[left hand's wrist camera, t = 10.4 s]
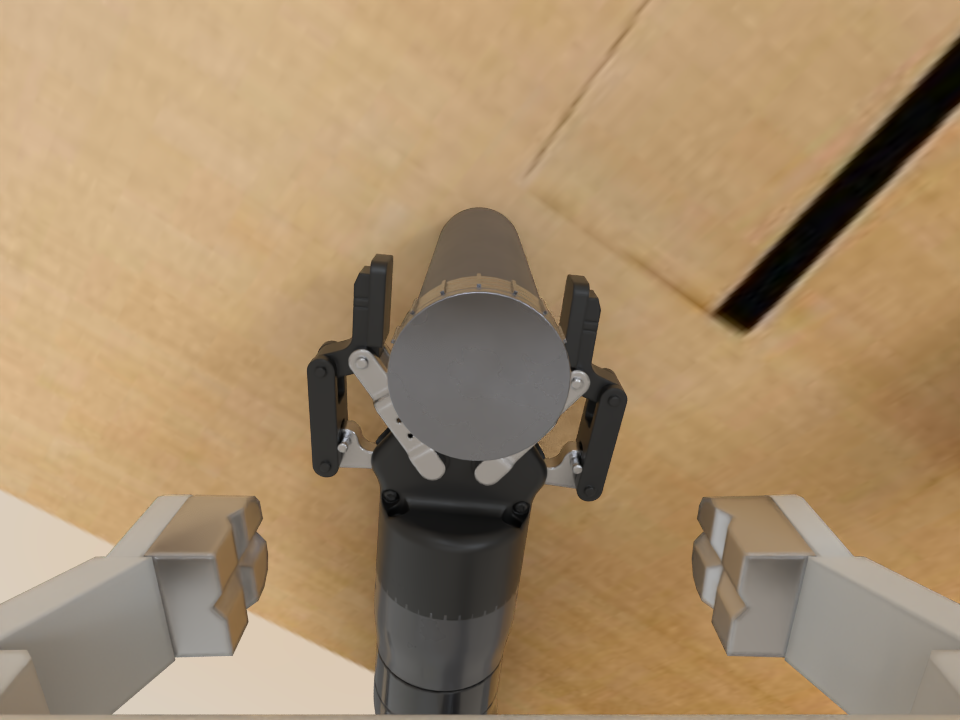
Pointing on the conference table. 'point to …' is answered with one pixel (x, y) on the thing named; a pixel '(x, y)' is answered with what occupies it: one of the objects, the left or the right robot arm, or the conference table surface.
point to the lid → (478, 369)
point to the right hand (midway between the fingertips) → (480, 268)
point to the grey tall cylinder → (479, 251)
